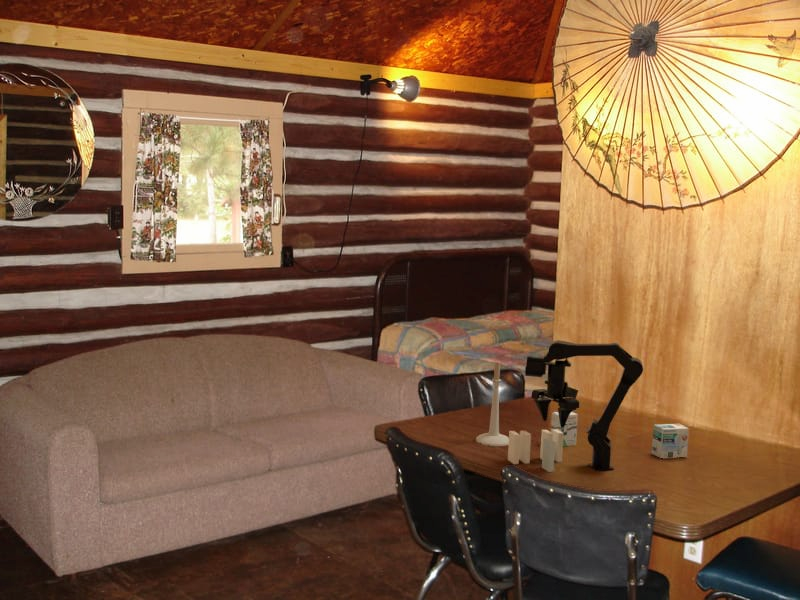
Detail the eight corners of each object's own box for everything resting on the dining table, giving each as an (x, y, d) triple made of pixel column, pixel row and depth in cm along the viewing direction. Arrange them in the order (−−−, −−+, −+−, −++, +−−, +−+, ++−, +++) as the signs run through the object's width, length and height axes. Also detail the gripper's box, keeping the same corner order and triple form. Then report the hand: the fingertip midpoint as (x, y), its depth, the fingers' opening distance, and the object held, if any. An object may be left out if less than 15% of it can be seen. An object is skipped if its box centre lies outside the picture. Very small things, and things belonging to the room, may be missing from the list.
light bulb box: (660, 459, 313) (663, 429, 312) (650, 453, 320) (652, 424, 319) (687, 457, 316) (690, 428, 315) (677, 452, 323) (679, 423, 321)
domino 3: (551, 462, 305) (552, 433, 303) (546, 462, 304) (548, 433, 303) (544, 457, 309) (546, 429, 308) (540, 458, 309) (541, 429, 308)
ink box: (557, 447, 323) (559, 415, 322) (549, 443, 327) (551, 412, 326) (576, 445, 327) (578, 413, 326) (568, 441, 331) (570, 410, 330)
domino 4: (553, 471, 294) (555, 442, 293) (548, 472, 293) (550, 442, 292) (546, 467, 299) (548, 437, 298) (541, 467, 298) (543, 438, 297)
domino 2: (529, 463, 302) (531, 434, 301) (524, 463, 302) (526, 434, 301) (523, 458, 307) (524, 430, 306) (518, 459, 307) (520, 430, 305)
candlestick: (470, 437, 332) (473, 357, 328) (501, 435, 336) (505, 356, 333) (485, 447, 320) (489, 364, 316) (517, 444, 324) (521, 363, 321)
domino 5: (561, 461, 306) (563, 433, 305) (557, 461, 305) (558, 433, 304) (555, 457, 311) (557, 429, 309) (550, 457, 310) (552, 429, 309)
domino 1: (518, 463, 301) (520, 434, 300) (513, 464, 301) (515, 435, 300) (512, 459, 306) (514, 430, 305) (507, 459, 306) (509, 431, 304)
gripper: (593, 382, 297) (590, 428, 299) (557, 371, 313) (554, 415, 315) (567, 384, 291) (564, 431, 293) (531, 373, 307) (529, 418, 309)
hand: (553, 423), depth 303 cm, fingers open, 9 cm apart
